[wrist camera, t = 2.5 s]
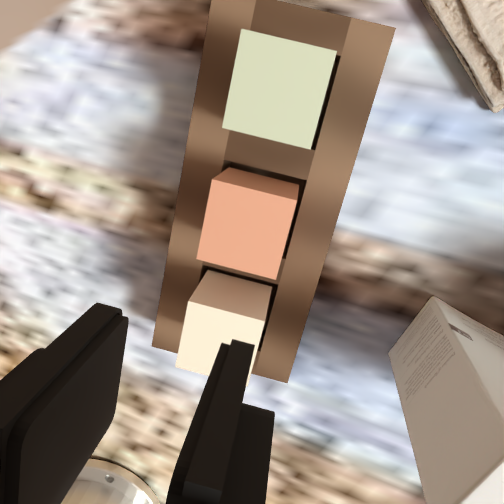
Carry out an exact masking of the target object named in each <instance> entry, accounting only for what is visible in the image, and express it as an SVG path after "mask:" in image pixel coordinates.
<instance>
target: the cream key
mask: <svg viewBox="0 0 504 504" xmlns="http://www.w3.org/2000/svg"><path fill="white" fill-rule="evenodd" d="M271 290H272V287H271V286H268V285H264V284H260V283H256V282H252V281H249V280H245V279H241V278H237V277H233V276H229V275H226V274H222V273H218V272H214V271H210V270H208V271H207V272H206V274H205V275H204V277H203V279H202V280H201V282H200V283H199V285H198V286H197V288H196V290H195V291H194V293H193V294H192V296H191V298H190V299H189V301H188V305H187V310H186V315H185V320H184V325H183V330H182V335H181V340H180V345H179V350H178V355H177V360H176V366H175V367H178V368H181V369H185V370H189V371H192V372H196V373H200V374H203V375H207V376H209V375H210V372H211V369H212V367H213V364H214V361H215V359H216V356H217V353H218V351H219V348H220V345H221V343H225V344H229V345H230V344H231V341H232V339H235V340H239V341H242V342H246V343H250V344H253V345H255V348H254V352H253V357H252V361H251V365H250V370H249V374H248V379H247V383H246V386H248V383H249V379H250V375H251V372H252V368H253V364H254V360H255V357H256V353H257V349H258V346H259V342H260V338H261V334H262V331H263V327H264V323H265V319H266V314H267V309H268V304H269V299H270V294H271Z"/></svg>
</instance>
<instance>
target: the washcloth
mask: <svg viewBox="0 0 504 504" xmlns="http://www.w3.org/2000/svg"><path fill="white" fill-rule="evenodd" d="M421 1H422V2H423V4H424V6H425V7H426V9H427V11H428V12H429V14H430V15H431V18H432V19H433V20H434V22H435V24H436V25H437V26H438V28H439V29H440V31H441V32H442V33H443V34H444V36H445V37H446V38H447V40H448V41H449V43H450V45H451V46H452V48H453V49H454V51H455V53H456V55H457V57H458V58H459V60H460V62H461V63H462V65H463V67H464V69H465V71H466V72H467V73H468V75H469V76H470V78H471V80H472V82H473V84H474V86H475V88H476V89H477V90H478V92H479V93H480V95H481V96H482V98H483V99H484V101H485V103H486V104H487V105H488V107H489V109H490V110H491V111H492V112H493V113H496V112H499V111H500V110H501V109H503V108H504V0H421Z"/></svg>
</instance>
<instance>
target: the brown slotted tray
mask: <svg viewBox="0 0 504 504" xmlns="http://www.w3.org/2000/svg"><path fill="white" fill-rule="evenodd" d="M241 29H245V30H250V31H254V32H258V33H262V34H266V35H271V36H275V37H279V38H283V39H288V40H292V41H296V42H300V43H305V44H309V45H313V46H317V47H322V48H326V49H330V50H334V51H337V53H336V57H335V61H334V64H333V68H332V72H331V75H330V79H329V83H328V87H327V90H326V94H325V98H324V101H323V105H322V109H321V113H320V116H319V120H318V124H317V128H316V131H315V135H314V139H313V142H312V146H311V150H310V149H306V148H302V147H298V146H294V145H290V144H286V143H282V142H278V141H274V140H270V139H265V138H261V137H257V136H253V135H249V134H245V133H241V132H237V131H233V130H229V129H225V128H222V125H223V120H224V115H225V110H226V105H227V100H228V95H229V89H230V84H231V79H232V74H233V69H234V64H235V59H236V54H237V49H238V44H239V39H240V34H241ZM395 29H396V28H394V27H390V26H385V25H381V24H377V23H372V22H368V21H364V20H359V19H355V18H351V17H346V16H342V15H338V14H333V13H329V12H325V11H321V10H316V9H312V8H308V7H303V6H299V5H295V4H290V3H286V2H282V1H277V0H211V6H210V12H209V17H208V23H207V29H206V35H205V41H204V46H203V52H202V58H201V64H200V69H199V75H198V81H197V87H196V93H195V98H194V104H193V110H192V116H191V121H190V127H189V133H188V139H187V145H186V150H185V156H184V162H183V168H182V173H181V179H180V185H179V191H178V197H177V202H176V208H175V214H174V220H173V226H172V231H171V237H170V243H169V249H168V254H167V260H166V266H165V272H164V278H163V283H162V289H161V295H160V301H159V306H158V312H157V318H156V324H155V330H154V335H153V341H152V347H156V348H160V349H163V350H167V351H171V352H174V353H178V350H179V345H180V340H181V335H182V330H183V325H184V320H185V315H186V310H187V305H188V301H189V299H190V298H191V296H192V294H193V293H194V291H195V290H196V288H197V286H198V285H199V283H200V282H201V280H202V279H203V277H204V275H205V274H206V272H207V271H208V270H210V271H214V272H218V273H222V274H226V275H229V276H233V277H237V278H241V279H245V280H249V281H252V282H256V283H260V284H264V285H268V286H271V287H272V290H271V294H270V299H269V304H268V309H267V314H266V319H265V323H264V327H263V331H262V334H261V338H260V342H259V346H258V349H257V353H256V357H255V360H254V364H253V368H252V372H251V373H252V374H255V375H259V376H263V377H266V378H270V379H274V380H277V381H281V382H285V383H288V379H289V376H290V373H291V369H292V366H293V363H294V360H295V356H296V353H297V350H298V347H299V343H300V340H301V337H302V333H303V330H304V327H305V324H306V320H307V317H308V314H309V311H310V307H311V304H312V301H313V297H314V294H315V291H316V288H317V284H318V281H319V278H320V275H321V271H322V268H323V265H324V261H325V258H326V255H327V252H328V248H329V245H330V242H331V239H332V235H333V232H334V229H335V225H336V222H337V219H338V216H339V212H340V209H341V206H342V203H343V199H344V196H345V193H346V189H347V186H348V183H349V180H350V176H351V173H352V170H353V167H354V163H355V160H356V157H357V153H358V150H359V147H360V144H361V140H362V137H363V134H364V130H365V127H366V124H367V121H368V117H369V114H370V111H371V108H372V104H373V101H374V98H375V94H376V91H377V88H378V85H379V81H380V78H381V75H382V72H383V68H384V65H385V62H386V58H387V55H388V52H389V49H390V45H391V42H392V39H393V36H394V32H395ZM229 167H230V168H234V169H238V170H242V171H246V172H250V173H254V174H258V175H262V176H266V177H270V178H274V179H278V180H282V181H286V182H290V183H294V184H298V185H299V190H298V198H297V203H296V207H295V211H294V214H293V218H292V222H291V226H290V229H289V233H288V237H287V240H286V244H285V248H284V252H283V255H282V259H281V263H280V266H279V270H278V274H277V278H276V280H274V279H271V278H267V277H263V276H259V275H255V274H251V273H248V272H244V271H240V270H236V269H232V268H228V267H225V266H221V265H217V264H213V263H209V262H205V261H202V260H198V259H196V258H197V253H198V248H199V243H200V238H201V233H202V228H203V223H204V218H205V212H206V207H207V202H208V197H209V192H210V187H211V182H212V179H213V178H214V177H216V176H217V175H219V174H220V173H222V172H223V171H224V170H226V169H227V168H229Z"/></svg>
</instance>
